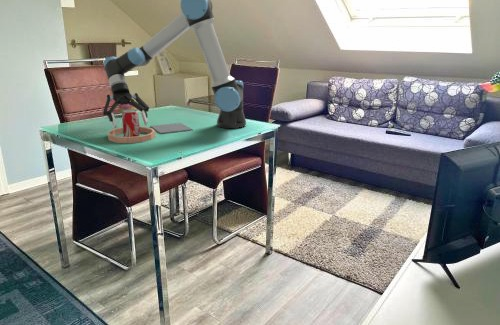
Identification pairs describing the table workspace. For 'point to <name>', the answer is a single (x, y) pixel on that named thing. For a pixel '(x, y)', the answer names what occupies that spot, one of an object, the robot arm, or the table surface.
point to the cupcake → (125, 107)
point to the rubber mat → (170, 128)
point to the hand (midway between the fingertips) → (131, 125)
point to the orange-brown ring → (131, 139)
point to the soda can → (130, 123)
